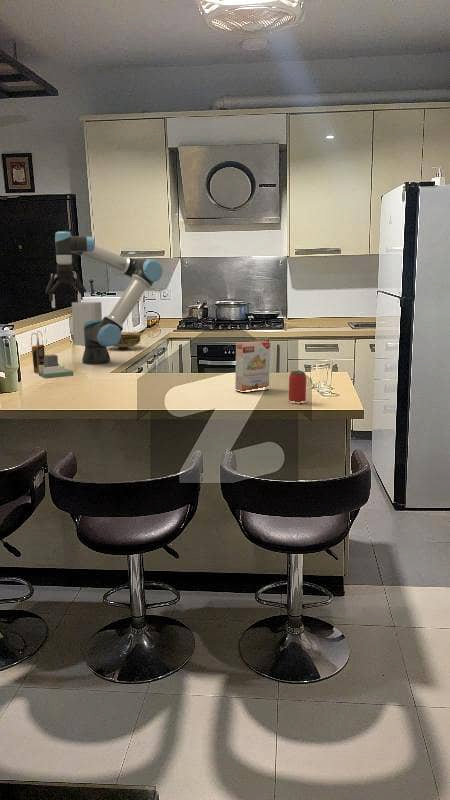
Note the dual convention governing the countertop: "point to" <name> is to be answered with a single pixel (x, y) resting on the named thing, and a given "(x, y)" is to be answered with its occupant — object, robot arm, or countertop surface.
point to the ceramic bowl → (128, 340)
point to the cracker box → (252, 365)
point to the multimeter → (38, 354)
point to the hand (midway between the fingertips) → (66, 307)
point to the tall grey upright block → (84, 318)
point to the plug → (50, 360)
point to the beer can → (297, 386)
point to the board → (54, 371)
